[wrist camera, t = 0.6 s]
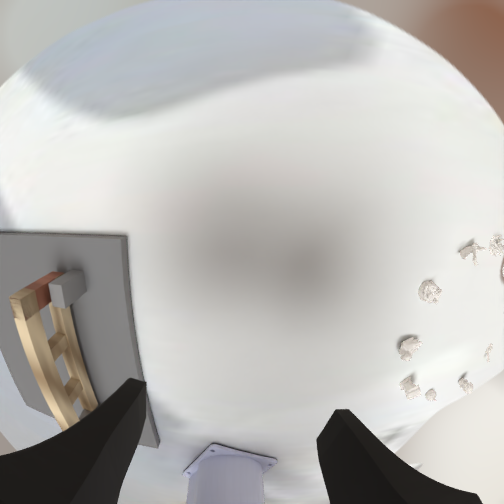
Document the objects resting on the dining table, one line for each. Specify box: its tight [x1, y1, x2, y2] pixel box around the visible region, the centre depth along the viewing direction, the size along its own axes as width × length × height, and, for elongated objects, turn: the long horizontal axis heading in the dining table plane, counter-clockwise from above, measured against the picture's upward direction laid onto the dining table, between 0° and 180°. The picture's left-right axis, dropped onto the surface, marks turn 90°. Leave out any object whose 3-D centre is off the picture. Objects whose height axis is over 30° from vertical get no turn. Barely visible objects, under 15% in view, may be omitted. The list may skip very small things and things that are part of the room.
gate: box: [9, 271, 99, 431], centre depth 15 cm, size 15×2×5 cm, turn 176°
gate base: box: [0, 232, 160, 448], centre depth 17 cm, size 22×19×4 cm
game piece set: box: [399, 235, 504, 401], centre depth 19 cm, size 19×20×4 cm
